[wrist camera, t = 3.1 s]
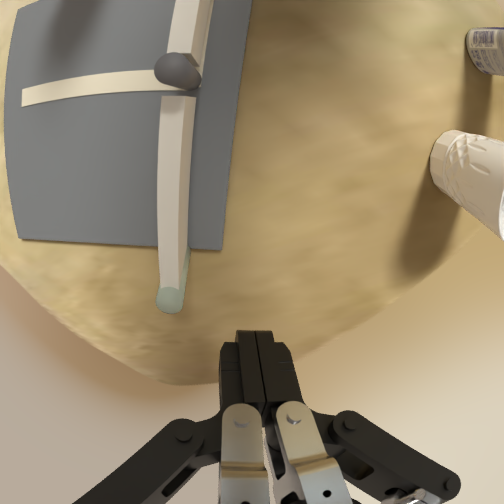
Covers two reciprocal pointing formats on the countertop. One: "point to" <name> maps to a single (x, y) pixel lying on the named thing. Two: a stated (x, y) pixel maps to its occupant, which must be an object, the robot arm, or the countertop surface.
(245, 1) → the card
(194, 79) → the bar
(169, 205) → the fence gate
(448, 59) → the countertop surface
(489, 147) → the white cup
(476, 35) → the energy drink
